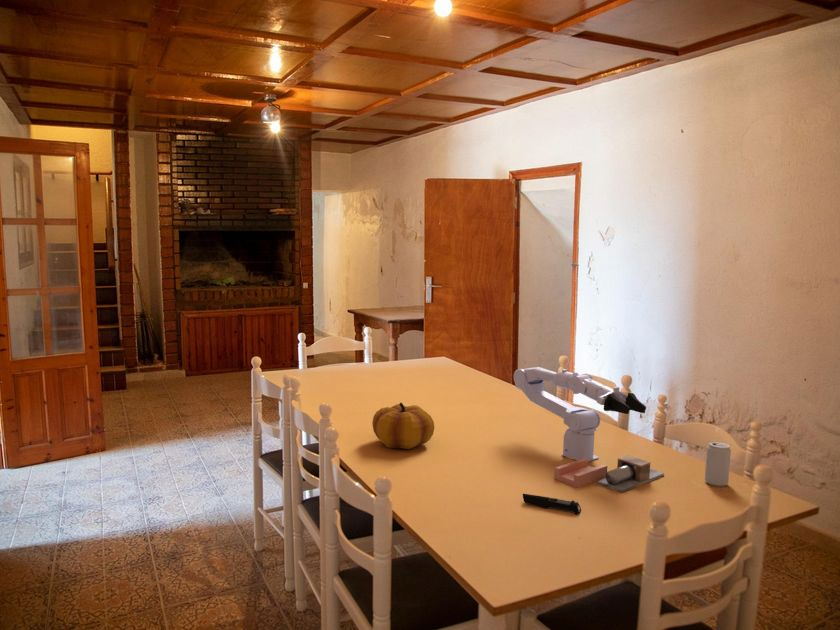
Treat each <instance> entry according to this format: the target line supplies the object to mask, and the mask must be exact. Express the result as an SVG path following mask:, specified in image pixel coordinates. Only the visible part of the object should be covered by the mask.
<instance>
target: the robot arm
mask: <svg viewBox="0 0 840 630" xmlns="http://www.w3.org/2000/svg"><path fill="white" fill-rule="evenodd" d="M513 381H514V384H515V388H517V389H519V390H521V391H522V393H523V394H524V395H525V396H526V397H527V399H528V400H530V402H532V403H533V404H535V405H537V406H539V407H541V408H543V409H544V410H547V411H549V413H550V412H551V413H552V414H554V415H555V416H557V417H559V418H561V419H563V425H565V426H567V427H568V428H567V429H566V430H565V432H564V435H563V445H562V449H563V450H562V451H563V452H562V453H561V456H563V457H567V458H568V459H572V460H573V461H576V460H579V459H582V458H586V459H588V463H589V462H592V461H594V460H597V459H599V458H600V457H599V456H598V455H596V454H595V453H594V451H595V450H594V449H595V433H596V432H597V428H598V427H599V426H600V424H601V416H600V414H599V412H598V411H597V410H595V409H588V408H586V407H580V406H574V405H573V404H571V403H569V402H567V401H565V400H562V399H561V398H559V397H557V396H556V395H553V394H551V393H550V392H547V391H545V390H546V386H545V381H547V382H552V383H554V384H555V386H556V387H558V388H562V389H566V390H568V391H572V393H573V394H574V395H577V394H581V395H583V396H585V397H587V398H589V399H591V400H593V401H596V403H597V404H599V405H601V406H603V411H604V412H615V413H620V414H625V415H630V414H629V413H630V411H634V412H635V413H636V412H637V413H639V414H645V413H646V411H647V406H646V405H644V403H642V402H641V401H640V400H639V399H638V398H637V396H636V395H635V394H634V393H633V392H628V393H627V394H625V393H624V392H621V391H620V387H618V386H614V387H613V388H612V387H610V386H608V385H606V384H603V383H601V382H599V381H597V380H594V378H593V377H592V375H590V374H588V373H582V374H579V373H578V372H577V371H575V372H570V371H568V369H564V368H563V369H561V370H558V371H557V372H556V371H553V370H549V369H547V368H544V367H542V366H541V367H539V366H533V367H529V368H528V367H526V368H518V369H516V370H515V371H514V373H513Z"/></svg>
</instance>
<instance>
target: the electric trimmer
mask: <svg viewBox="0 0 840 630" xmlns="http://www.w3.org/2000/svg"><path fill="white" fill-rule="evenodd" d="M522 499H523V502H524V503H525V504H529V505H532V506H535V507H539V508H542V509H554V510H560V511H564V512H570V513H574V515H581V512H582V507H581V505H580V503H579V502H578V501H577V502H576V501H574V500H573V499H572V500H570V501H569V500H564V499H558V498H555V497H549V496H543V495H536V494H528V493H522Z"/></svg>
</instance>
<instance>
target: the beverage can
mask: <svg viewBox="0 0 840 630" xmlns="http://www.w3.org/2000/svg"><path fill="white" fill-rule="evenodd" d="M730 446H731V445H729V444H728V443H726V442H720V441H710V442H708V445H707V447H706V458H705V471H704V481H705V482H706V483H707V485H711V486H713V487H725V486H726V485H728V484H729V477H730V467H731V453H732V450H731V447H730Z"/></svg>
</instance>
